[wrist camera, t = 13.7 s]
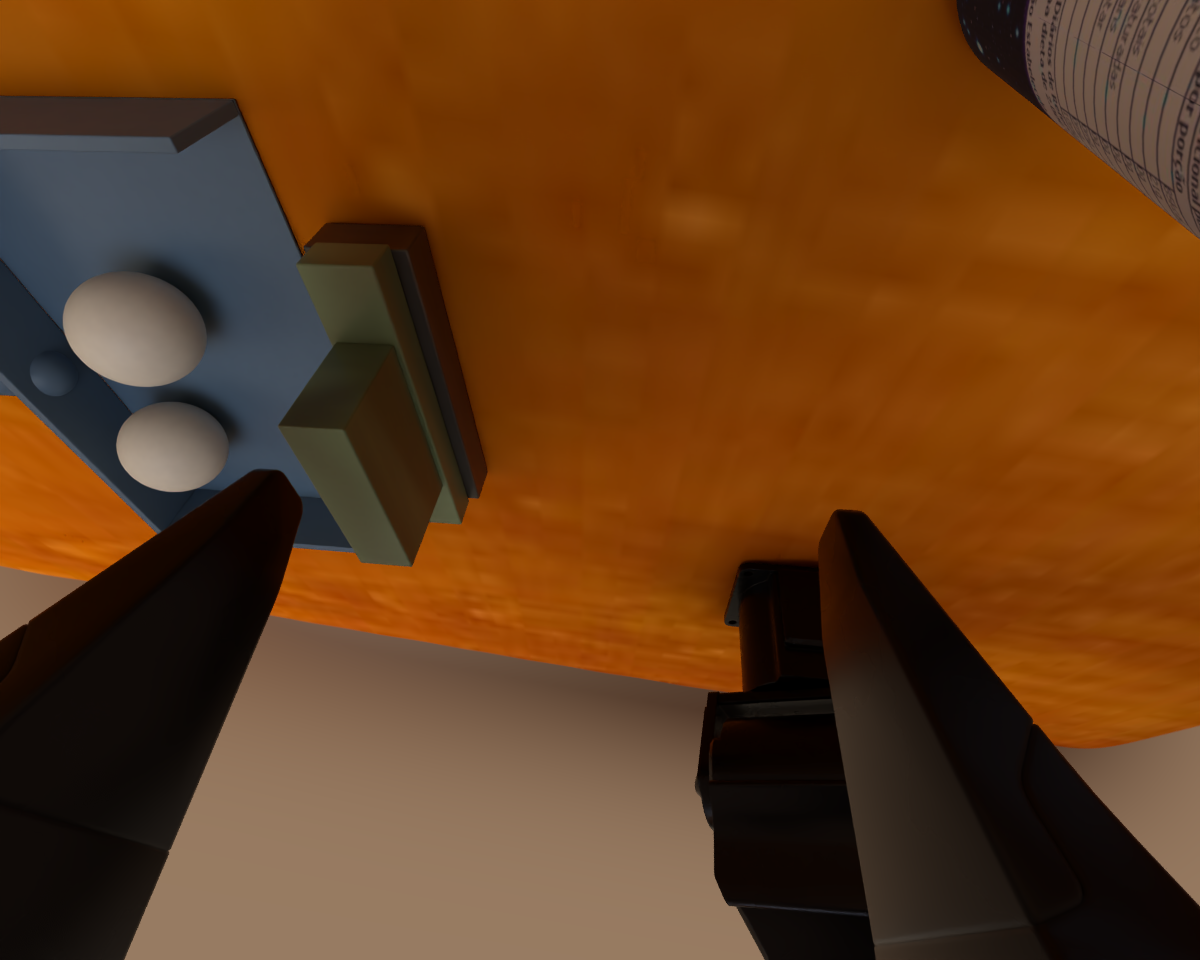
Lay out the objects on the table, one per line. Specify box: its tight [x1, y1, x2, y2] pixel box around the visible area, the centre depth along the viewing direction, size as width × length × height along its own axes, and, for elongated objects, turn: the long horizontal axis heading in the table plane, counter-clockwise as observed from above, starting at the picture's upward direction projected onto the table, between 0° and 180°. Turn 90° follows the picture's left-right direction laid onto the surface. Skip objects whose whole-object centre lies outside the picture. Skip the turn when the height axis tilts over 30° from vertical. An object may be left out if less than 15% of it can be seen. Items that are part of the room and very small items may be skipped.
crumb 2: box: [116, 402, 229, 492], centre depth 25 cm, size 4×4×4 cm
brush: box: [278, 223, 487, 567], centre depth 21 cm, size 3×12×7 cm, turn 1°
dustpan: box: [0, 96, 355, 553], centre depth 23 cm, size 22×19×3 cm
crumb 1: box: [63, 271, 207, 387], centre depth 20 cm, size 4×4×4 cm
